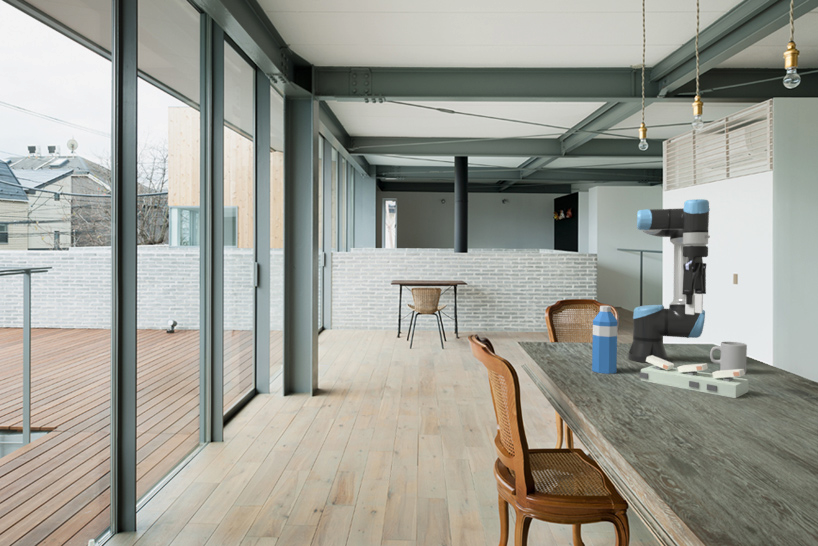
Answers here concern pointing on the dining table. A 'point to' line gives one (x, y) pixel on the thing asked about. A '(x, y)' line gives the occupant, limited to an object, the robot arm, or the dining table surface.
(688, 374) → the switch unit
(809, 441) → the dining table surface
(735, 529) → the dining table surface
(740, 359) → the mug
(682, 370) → the rocker middle
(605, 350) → the water bottle
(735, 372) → the rocker right
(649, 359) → the block
